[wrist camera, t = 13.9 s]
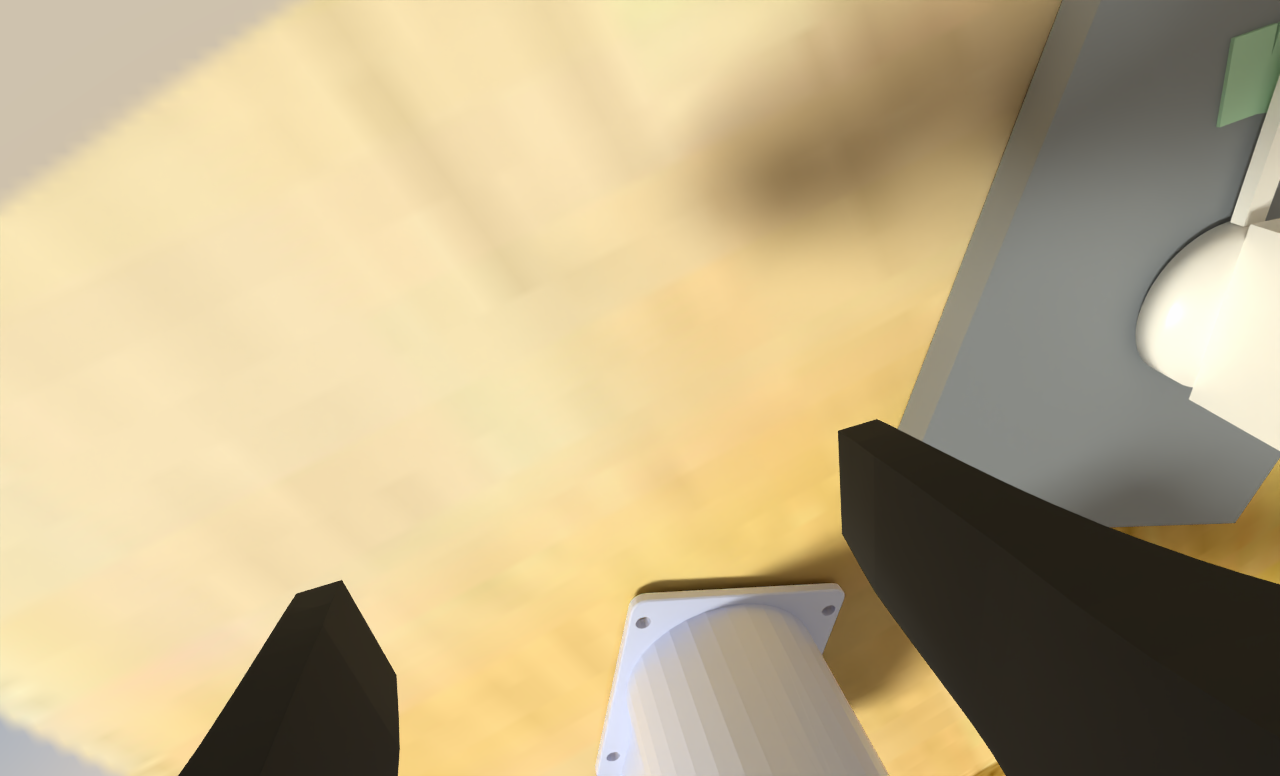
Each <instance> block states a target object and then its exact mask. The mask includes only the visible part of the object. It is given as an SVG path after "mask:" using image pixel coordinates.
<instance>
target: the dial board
mask: <svg viewBox="0 0 1280 776" xmlns="http://www.w3.org/2000/svg"><path fill="white" fill-rule="evenodd" d="M1279 75H1280V0H1062V3H1061V6H1060V8H1059V11H1058V13H1057V16H1056V19H1055V21H1054V24H1053V26H1052V29H1051V32H1050V34H1049V37H1048V39H1047V42H1046V45H1045V47H1044V50H1043V52H1042V55H1041V58H1040V60H1039V63H1038V65H1037V68H1036V71H1035V73H1034V76H1033V79H1032V81H1031V84H1030V86H1029V89H1028V92H1027V94H1026V97H1025V99H1024V102H1023V105H1022V107H1021V110H1020V112H1019V115H1018V118H1017V120H1016V123H1015V125H1014V128H1013V131H1012V133H1011V136H1010V138H1009V141H1008V144H1007V146H1006V149H1005V151H1004V154H1003V157H1002V159H1001V162H1000V165H999V167H998V170H997V172H996V175H995V178H994V180H993V183H992V185H991V188H990V191H989V193H988V196H987V198H986V201H985V204H984V206H983V209H982V211H981V214H980V217H979V219H978V222H977V224H976V227H975V230H974V232H973V235H972V237H971V240H970V243H969V245H968V248H967V251H966V253H965V256H964V258H963V261H962V264H961V266H960V269H959V271H958V274H957V277H956V279H955V282H954V284H953V287H952V290H951V292H950V295H949V297H948V300H947V303H946V305H945V308H944V310H943V313H942V316H941V318H940V321H939V323H938V326H937V329H936V331H935V334H934V337H933V339H932V342H931V344H930V347H929V350H928V352H927V355H926V357H925V360H924V363H923V365H922V368H921V370H920V373H919V376H918V378H917V381H916V383H915V386H914V389H913V391H912V394H911V396H910V399H909V402H908V404H907V407H906V410H905V412H904V415H903V417H902V420H901V423H900V425H899V428H898V430H901V431H903V432H905V433H907V434H909V435H911V436H913V437H915V438H916V439H918V440H920V441H922V442H924V443H926V444H928V445H930V446H932V447H934V448H936V449H938V450H940V451H942V452H944V453H946V454H948V455H950V456H952V457H954V458H956V459H958V460H960V461H962V462H964V463H966V464H968V465H970V466H972V467H974V468H976V469H979V470H981V471H983V472H985V473H987V474H989V475H991V476H993V477H995V478H997V479H999V480H1001V481H1004V482H1006V483H1008V484H1010V485H1012V486H1014V487H1016V488H1018V489H1021V490H1023V491H1025V492H1027V493H1029V494H1032V495H1034V496H1036V497H1038V498H1041V499H1043V500H1045V501H1047V502H1050V503H1052V504H1054V505H1056V506H1059V507H1061V508H1064V509H1066V510H1068V511H1071V512H1073V513H1076V514H1078V515H1080V516H1083V517H1085V518H1088V519H1090V520H1092V521H1095V522H1097V523H1099V524H1102V525H1104V526H1107V527H1133V526H1163V525H1193V524H1223V523H1235V522H1236V521H1237V519H1238V518H1239V516H1240V515H1241V514H1242V512H1243V511H1244V509H1245V508H1246V506H1247V505H1248V503H1249V502H1250V500H1251V499H1252V497H1253V496H1254V495H1255V493H1256V492H1257V490H1258V489H1259V487H1260V486H1261V484H1262V483H1263V481H1264V480H1265V479H1266V477H1267V476H1268V474H1269V473H1270V471H1271V470H1272V468H1273V467H1274V465H1275V464H1276V462H1277V461H1278V460H1279V458H1280V451H1279V450H1277V449H1275V448H1273V447H1272V446H1270V445H1268V444H1266V443H1265V442H1263V441H1261V440H1259V439H1258V438H1256V437H1254V436H1252V435H1251V434H1249V433H1247V432H1245V431H1243V430H1242V429H1240V428H1238V427H1236V426H1235V425H1233V424H1231V423H1229V422H1228V421H1226V420H1224V419H1222V418H1221V417H1219V416H1217V415H1215V414H1214V413H1212V412H1210V411H1208V410H1207V409H1205V408H1203V407H1201V406H1200V405H1198V404H1196V403H1194V402H1193V401H1191V400H1189V397H1190V395H1191V392H1192V389H1193V387H1188V386H1185V385H1182V384H1180V383H1178V382H1176V381H1175V380H1173V379H1171V378H1169V377H1167V376H1166V375H1164V374H1162V373H1160V372H1158V371H1157V370H1155V369H1153V368H1151V367H1149V366H1148V365H1147V364H1146V363H1145V362H1144V361H1143V360H1142V358H1141V357H1140V355H1139V352H1138V350H1137V346H1136V335H1135V333H1136V324H1137V320H1138V315H1139V312H1140V310H1141V307H1142V304H1143V302H1144V300H1145V297H1146V295H1147V293H1148V292H1149V290H1150V288H1151V286H1152V285H1153V283H1154V282H1155V280H1156V279H1157V277H1158V276H1159V274H1160V273H1161V272H1162V271H1163V269H1164V268H1165V267H1166V266H1167V264H1168V263H1169V262H1170V261H1171V260H1172V259H1173V258H1174V257H1175V256H1176V255H1177V254H1178V253H1179V252H1180V251H1181V250H1182V249H1183V248H1184V247H1186V246H1187V245H1188V244H1189V243H1191V242H1192V241H1193V240H1195V239H1196V238H1197V237H1199V236H1200V235H1202V234H1204V233H1205V232H1207V231H1209V230H1210V229H1212V228H1214V227H1216V226H1218V225H1221V224H1224V223H1226V222H1229V221H1231V218H1232V215H1233V212H1234V209H1235V206H1236V203H1237V200H1238V197H1239V194H1240V191H1241V188H1242V185H1243V182H1244V179H1245V176H1246V174H1247V171H1248V168H1249V165H1250V162H1251V159H1252V156H1253V153H1254V150H1255V147H1256V144H1257V141H1258V138H1259V135H1260V132H1261V129H1262V126H1263V123H1264V120H1265V117H1266V114H1267V111H1268V108H1269V105H1270V102H1271V99H1272V96H1273V93H1274V90H1275V87H1276V84H1277V81H1278V78H1279ZM1279 218H1280V181H1279V183H1278V186H1277V189H1276V192H1275V194H1274V197H1273V200H1272V203H1271V205H1270V208H1269V211H1268V214H1267V217H1266V219H1265V221H1269V220H1274V219H1279Z"/></svg>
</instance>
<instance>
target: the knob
mask: <svg viewBox="0 0 1280 776" xmlns="http://www.w3.org/2000/svg"><path fill="white" fill-rule="evenodd" d="M1279 181H1280V75H1279V78H1278V81H1277V84H1276V87H1275V90H1274V93H1273V96H1272V99H1271V102H1270V105H1269V108H1268V111H1267V114H1266V117H1265V120H1264V123H1263V126H1262V129H1261V132H1260V135H1259V138H1258V141H1257V144H1256V147H1255V150H1254V153H1253V156H1252V159H1251V162H1250V165H1249V168H1248V171H1247V174H1246V176H1245V179H1244V182H1243V185H1242V188H1241V191H1240V194H1239V197H1238V200H1237V203H1236V206H1235V209H1234V212H1233V215H1232V218H1231V221H1229V222H1226V223H1224V224H1221V225H1218V226H1216V227H1214V228H1212V229H1210V230H1209V231H1207V232H1205V233H1204V234H1202V235H1200V236H1199V237H1197V238H1196V239H1195V240H1193V241H1192V242H1191V243H1189V244H1188V245H1187V246H1186V247H1184V248H1183V249H1182V250H1181V251H1180V252H1179V253H1178V254H1177V255H1176V256H1175V257H1174V258H1173V259H1172V260H1171V261H1170V262H1169V263H1168V264H1167V266H1166V267H1165V268H1164V269H1163V271H1162V272H1161V273H1160V274H1159V276H1158V277H1157V279H1156V280H1155V282H1154V283H1153V285H1152V286H1151V288H1150V290H1149V292H1148V293H1147V295H1146V297H1145V300H1144V302H1143V304H1142V307H1141V310H1140V312H1139V315H1138V320H1137V324H1136V333H1135V335H1136V346H1137V350H1138V352H1139V355H1140V357H1141V358H1142V360H1143V361H1144V362H1145V363H1146V364H1147V365H1148V366H1149V367H1151V368H1153V369H1155V370H1157V371H1158V372H1160V373H1162V374H1164V375H1166V376H1167V377H1169V378H1171V379H1173V380H1175V381H1176V382H1178V383H1180V384H1182V385H1185V386H1188V387H1193V389H1192V392H1191V395H1190V397H1189V400H1191V401H1193V402H1194V403H1196V404H1198V405H1200V406H1201V407H1203V408H1205V409H1207V410H1208V411H1210V412H1212V413H1214V414H1215V415H1217V416H1219V417H1221V418H1222V419H1224V420H1226V421H1228V422H1229V423H1231V424H1233V425H1235V426H1236V427H1238V428H1240V429H1242V430H1243V431H1245V432H1247V433H1249V434H1251V435H1252V436H1254V437H1256V438H1258V439H1259V440H1261V441H1263V442H1265V443H1266V444H1268V445H1270V446H1272V447H1273V448H1275V449H1277V450H1279V451H1280V218H1279V219H1274V220H1269V221H1265V219H1266V217H1267V214H1268V211H1269V208H1270V205H1271V203H1272V200H1273V197H1274V194H1275V192H1276V189H1277V186H1278V183H1279Z"/></svg>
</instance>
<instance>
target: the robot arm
mask: <svg viewBox="0 0 1280 776" xmlns="http://www.w3.org/2000/svg"><path fill="white" fill-rule="evenodd" d="M838 441H839V467H840V492H841V517H842V534H843V536H844V538H845V540H846V541H847V543H848V545H849V547H850V549H851V551H852V552H853V554H854V556H855V558H856V560H857V562H858V563H859V565H860V567H861V569H862V571H863V572H864V574H865V576H866V577H867V579H868V581H869V583H870V584H871V586H872V588H873V589H874V591H875V593H876V594H877V596H878V597H879V598H880V600H881V601H882V603H883V604H884V605H885V607H886V608H887V609H888V611H889V612H890V614H891V615H892V616H893V618H894V619H895V620H896V622H897V623H898V624H899V626H900V627H901V629H902V630H903V631H904V633H905V634H906V635H907V637H908V638H909V639H910V641H911V642H912V643H913V645H914V646H915V648H916V649H917V650H918V652H919V653H920V654H921V656H922V657H923V658H924V660H925V661H926V662H927V664H928V665H929V666H930V668H931V669H932V670H933V672H934V673H935V674H936V676H937V677H938V678H939V680H940V681H941V683H942V684H943V685H944V687H945V688H946V689H947V691H948V692H949V693H950V695H951V696H952V697H953V699H954V700H955V701H956V703H957V704H958V705H959V707H960V708H961V709H962V711H963V712H964V713H965V715H966V716H967V718H968V719H969V720H970V722H971V723H972V724H973V726H974V727H975V729H976V730H977V732H978V733H979V735H980V736H981V738H982V739H983V740H984V742H985V743H986V745H987V746H988V748H989V749H990V751H991V752H992V754H993V755H994V757H995V759H996V760H997V762H998V763H999V765H1000V767H1001V768H1002V770H1003V772H1004V773H1005V775H1006V776H1280V584H1276V583H1273V582H1269V581H1266V580H1262V579H1259V578H1255V577H1252V576H1248V575H1245V574H1242V573H1238V572H1235V571H1232V570H1229V569H1226V568H1223V567H1219V566H1216V565H1213V564H1210V563H1207V562H1204V561H1201V560H1198V559H1195V558H1192V557H1189V556H1187V555H1184V554H1181V553H1178V552H1175V551H1172V550H1169V549H1167V548H1164V547H1161V546H1158V545H1155V544H1152V543H1149V542H1147V541H1144V540H1141V539H1138V538H1135V537H1133V536H1130V535H1128V534H1125V533H1122V532H1120V531H1117V530H1115V529H1112V528H1109V527H1107V526H1104V525H1102V524H1099V523H1097V522H1095V521H1092V520H1090V519H1088V518H1085V517H1083V516H1080V515H1078V514H1076V513H1073V512H1071V511H1068V510H1066V509H1064V508H1061V507H1059V506H1056V505H1054V504H1052V503H1050V502H1047V501H1045V500H1043V499H1041V498H1038V497H1036V496H1034V495H1032V494H1029V493H1027V492H1025V491H1023V490H1021V489H1018V488H1016V487H1014V486H1012V485H1010V484H1008V483H1006V482H1004V481H1001V480H999V479H997V478H995V477H993V476H991V475H989V474H987V473H985V472H983V471H981V470H979V469H976V468H974V467H972V466H970V465H968V464H966V463H964V462H962V461H960V460H958V459H956V458H954V457H952V456H950V455H948V454H946V453H944V452H942V451H940V450H938V449H936V448H934V447H932V446H930V445H928V444H926V443H924V442H922V441H920V440H918V439H916V438H915V437H913V436H911V435H909V434H907V433H905V432H903V431H901V430H898V429H896V428H894V427H892V426H890V425H888V424H886V423H884V422H882V421H880V420H877V419H876V420H873V421H869V422H866V423H863V424H859V425H856V426H853V427H849V428H846V429H843V430H839V431H838ZM844 597H845V594H844V592H843V590H842V589H841V587H840V586H839V585H838V584H836V583H823V584H805V585H786V586H768V587H749V588H731V589H713V590H694V591H676V592H657V593H643V594H639V595H637V596H635V597H634V598H633V599H632V600H631V602H630V604H629V607H628V612H627V617H626V621H625V626H624V631H623V636H622V640H621V645H620V650H619V655H618V660H617V664H616V669H615V674H614V679H613V683H612V688H611V693H610V698H609V703H608V707H607V712H606V717H605V722H604V727H603V731H602V736H601V741H600V746H599V750H598V755H597V760H596V765H595V770H596V775H597V776H889V774H888V772H887V770H886V769H885V767H884V765H883V763H882V761H881V760H880V758H879V756H878V754H877V752H876V751H875V749H874V747H873V745H872V744H871V742H870V740H869V738H868V736H867V735H866V733H865V731H864V729H863V727H862V726H861V724H860V722H859V720H858V719H857V717H856V715H855V713H854V711H853V710H852V708H851V706H850V704H849V702H848V701H847V699H846V697H845V695H844V694H843V692H842V690H841V688H840V686H839V685H838V683H837V681H836V679H835V677H834V676H833V674H832V672H831V670H830V668H829V667H828V665H827V663H826V661H825V660H824V658H823V656H822V654H823V651H824V649H825V646H826V644H827V641H828V639H829V636H830V633H831V631H832V628H833V626H834V623H835V621H836V618H837V616H838V613H839V611H840V608H841V606H842V603H843V600H844ZM643 617H645V618H644V619H640V618H643ZM639 619H640V620H639ZM399 750H400V745H399V714H398V696H397V678H396V674H395V672H394V670H393V668H392V667H391V665H390V663H389V661H388V660H387V658H386V656H385V654H384V653H383V651H382V649H381V647H380V646H379V644H378V642H377V640H376V639H375V637H374V635H373V633H372V632H371V630H370V628H369V626H368V625H367V623H366V621H365V619H364V618H363V616H362V614H361V612H360V611H359V609H358V607H357V605H356V604H355V602H354V600H353V599H352V597H351V595H350V593H349V592H348V590H347V588H346V586H345V585H344V583H343V581H342V580H341V581H337V582H334V583H331V584H327V585H324V586H321V587H317V588H314V589H311V590H307V591H304V592H301V593H297V594H296V595H295V597H294V598H293V600H292V601H291V603H290V604H289V606H288V607H287V609H286V611H285V612H284V614H283V615H282V617H281V618H280V620H279V622H278V623H277V625H276V626H275V628H274V630H273V631H272V633H271V634H270V636H269V638H268V639H267V641H266V642H265V644H264V646H263V647H262V649H261V650H260V652H259V654H258V655H257V657H256V658H255V660H254V662H253V663H252V665H251V666H250V668H249V669H248V671H247V673H246V674H245V676H244V677H243V679H242V681H241V682H240V684H239V685H238V687H237V688H236V690H235V692H234V693H233V695H232V696H231V698H230V699H229V701H228V702H227V704H226V705H225V707H224V709H223V710H222V712H221V713H220V715H219V716H218V718H217V719H216V721H215V723H214V724H213V726H212V727H211V729H210V730H209V732H208V733H207V735H206V736H205V738H204V739H203V741H202V742H201V744H200V745H199V747H198V748H197V750H196V751H195V753H194V754H193V756H192V757H191V758H190V760H189V761H188V763H187V764H186V765H185V767H184V768H183V770H182V771H181V773H180V774H179V775H178V776H398V765H399Z"/></svg>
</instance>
